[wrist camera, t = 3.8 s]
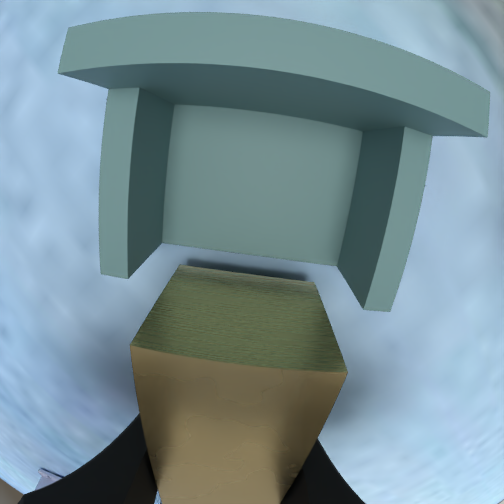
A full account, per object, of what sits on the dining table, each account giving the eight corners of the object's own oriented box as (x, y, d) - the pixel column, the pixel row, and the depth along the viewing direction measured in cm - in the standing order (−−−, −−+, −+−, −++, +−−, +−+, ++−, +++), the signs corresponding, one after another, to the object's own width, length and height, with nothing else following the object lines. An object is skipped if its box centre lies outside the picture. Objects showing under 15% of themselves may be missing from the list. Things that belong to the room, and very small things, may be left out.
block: (247, 501, 14) (245, 551, 10) (185, 493, 14) (176, 543, 10) (314, 282, 9) (347, 372, 5) (179, 264, 9) (129, 345, 5)
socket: (352, 261, 9) (422, 359, 5) (147, 234, 9) (58, 313, 4) (380, 113, 8) (489, 92, 3) (161, 81, 8) (68, 27, 3)
